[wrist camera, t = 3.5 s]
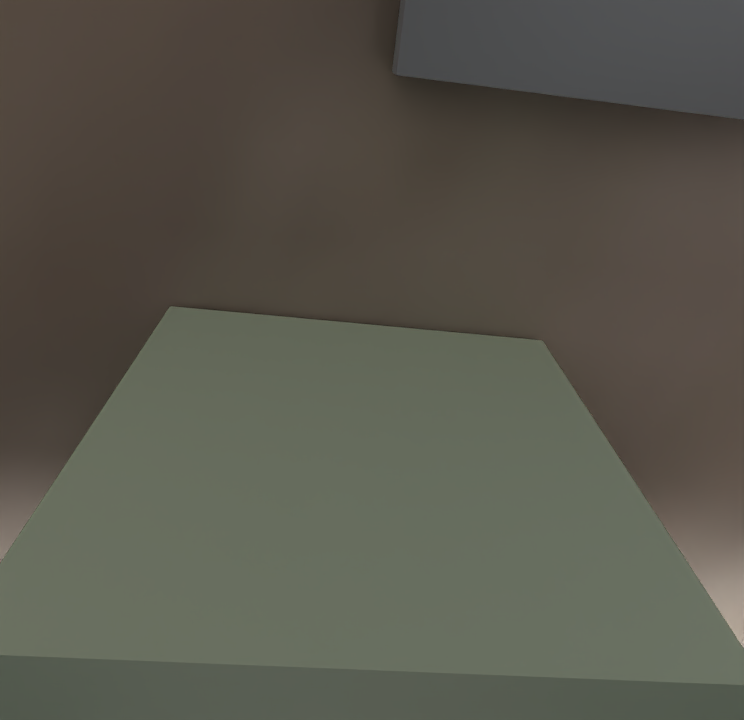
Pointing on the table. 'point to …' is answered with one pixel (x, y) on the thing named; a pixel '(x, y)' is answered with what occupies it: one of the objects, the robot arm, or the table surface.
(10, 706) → the green cube
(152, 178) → the table surface
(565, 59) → the mat
